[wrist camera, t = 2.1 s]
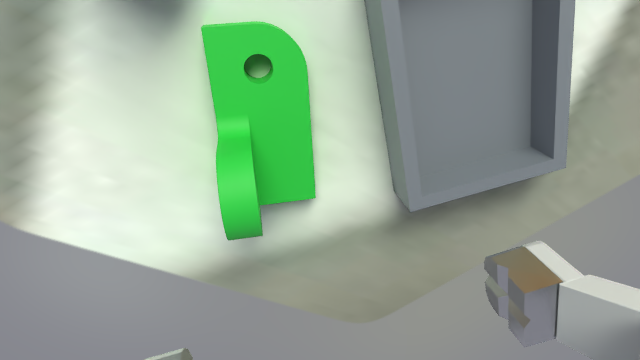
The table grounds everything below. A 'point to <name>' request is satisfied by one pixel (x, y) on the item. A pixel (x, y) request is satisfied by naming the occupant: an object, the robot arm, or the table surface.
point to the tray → (471, 92)
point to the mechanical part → (258, 123)
